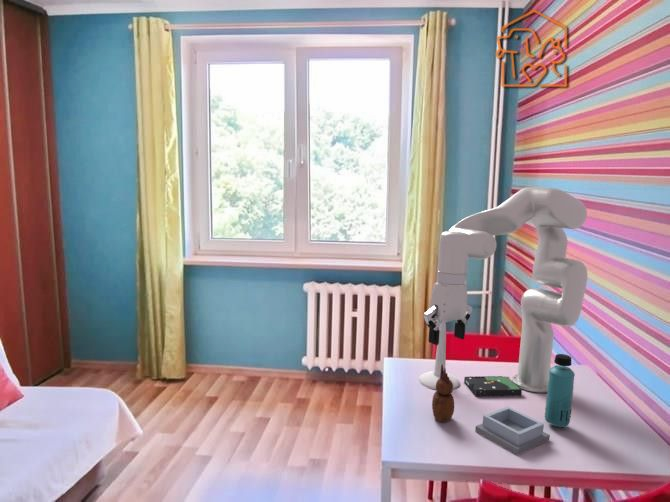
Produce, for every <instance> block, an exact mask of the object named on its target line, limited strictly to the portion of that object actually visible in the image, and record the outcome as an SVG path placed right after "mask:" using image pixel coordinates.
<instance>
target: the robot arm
mask: <svg viewBox="0 0 670 502" xmlns="http://www.w3.org/2000/svg"><path fill="white" fill-rule="evenodd" d="M587 216H588V212H587V207H586V205H585V204H584V203H583V202H582V200H580V199H578V198H576V197H575V196H573V195H571V194H569V193H567V192H566V191H563V190H561V189H559V188H554V187H540V186H538V187H537V186H527V187H524V188H522V189H520V190H518V191H517V192H516V193H514V194H513V195H512V196H510V197H509V198H508V199H506V200H504V201H503V202H502V203H501V204H500V205H497V206H496V207H494V208H493V207H492V208H490V209H486V210H483V211H480V212H477V213H474V214H471V215H469V216H467V217H464V218H463V219H461V220H460V221H458V222H457V223H455V224H454V225H453V226H452V227H451V228H450V229H449V230H447V231H443V232H442V233H441V234H440V237H439V246H438V247H439V248H438V261H437V273H436V282H434V283H433V288H432V291H431V295H430V302H429V309H427V311H425V312H424V313H423V318H424V324H425V325H426V326H427V328H428V343H430V344H433V345H435V346H437V345H438V344H439V334H440V330H439V327H440V325H441V324H442V323H444V322H446V323H448V322H455V321H456V322H455V323H454V331H453V332H454V333H453V334H454V335H453V337H455V338H457V339H459V340H461V341H462V340H464V339H465V337H466V335H465V334H466V326H467V325H468V321H469V319H470V318H471V314H472V312H473V307H472V306H471V305H469V304H468V287H467V277H468V274H467V273H468V260H469V259H471V260H472V259H473V260H474V259H475V260H485V259H489V258H491V257H492V256H493V255H494V253H496V249H497V240H496V238H495V236H503V235H507V234H513V233H515V232H517V230H519V229H520V228H521V227H523V226H524V225H525V224H526V223H528V222H529V221H531V222H532V224H533V226H534V228H535V230H536V233H537V239H538V240H537V247H536V252H535V256H534V261H533V267H532V279H533V280H534V282H536V283H538V284H540V285H543V286H548V287H552V288H556V289H559V290H560V289H561V292H557V291H556V292H555V291H553V290H548V289H545V288H544V289H543V288H537V287H535V288H528V289H527V290H525V291H524V292H523V294H522V296H521V298H520V309H521V310H520V311H521V317H522V318H521V320H522V321H521V323H522V324H521V334H520V335H521V336H520V344H519V345H520V347H519V357H518V367H517V368H518V369H517V374H514V375H513V376H512V378H511V380H512V381H513V382H515V383H516V384H517V385H518V386H519V387H520V388H521V389H522V390H525V391H528V392H531V393H541V394H542V393H547V391H548V381H549V370H550V368H551V364H552V356H553V355H552V354H553V346H554V338H555V336H554V335H555V334H554V330H553V329H554V328H553V326H552V324H553V325H557V326H561V327H567V328H569V327H573V326H574V325H576V324H577V322H578V320H579V318H580V316H581V312H582V308H583V307H582V306H583V302H584V297H585V293H586V289H587V283H588V276H589V275H588V270H587V267H586V265H585V264H584V263H583V262H582V261H580V260H579V259H578V260H577V259H573V258H567V257H566V255H567V249H568V244H569V243H568V237H567V234H566V232H565V230H564V229H568V230H575V229H579V228H580V227H582V226H583V225H584V224H585V222H586V221H587Z"/></svg>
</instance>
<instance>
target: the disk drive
mask: <svg viewBox="0 0 670 502" xmlns="http://www.w3.org/2000/svg"><path fill="white" fill-rule="evenodd" d="M463 379H464V381H463V383H464V385H466V387H467V388H468V390H469V391H470V393H472V395H473V396H474V397H521V396H522V391H523V389H521V388H520V387H519V386H518V385H517V384H516V383H515V382H513V381H512V378H510V377H509V376H502V375H500V376H496V375H491V376H490V375H489V376H488V375H487V376H485V375H484V376H464V378H463Z"/></svg>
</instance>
